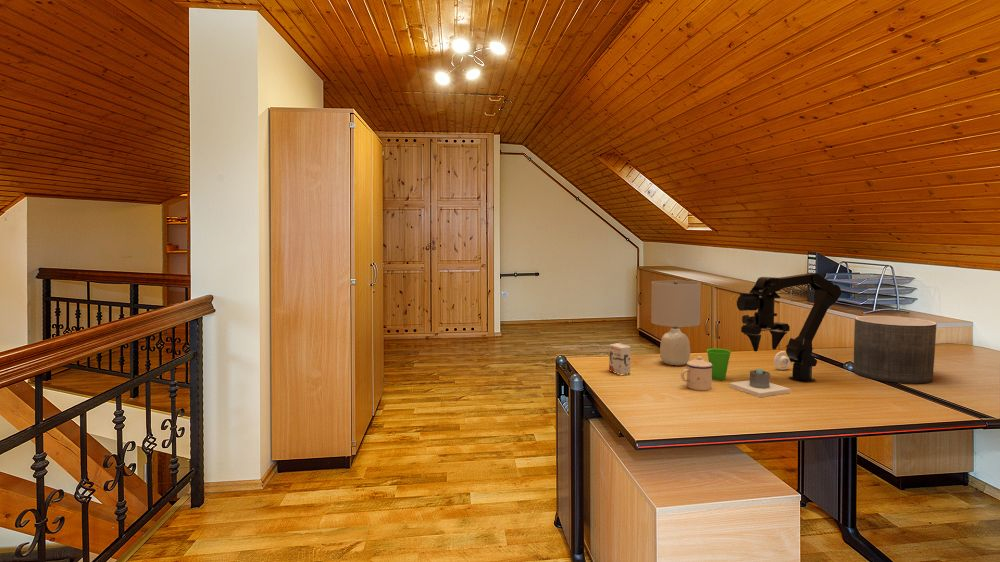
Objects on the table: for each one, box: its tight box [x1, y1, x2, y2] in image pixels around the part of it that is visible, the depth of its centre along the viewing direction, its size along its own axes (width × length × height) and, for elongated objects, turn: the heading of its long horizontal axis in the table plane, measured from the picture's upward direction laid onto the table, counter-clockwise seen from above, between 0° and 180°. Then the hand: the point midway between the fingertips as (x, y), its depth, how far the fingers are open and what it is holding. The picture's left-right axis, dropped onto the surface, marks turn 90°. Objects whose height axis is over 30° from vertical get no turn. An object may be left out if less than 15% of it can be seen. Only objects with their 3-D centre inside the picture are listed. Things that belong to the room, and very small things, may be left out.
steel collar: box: [749, 369, 771, 389], centre depth 187 cm, size 6×6×5 cm
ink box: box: [608, 342, 632, 374], centre depth 213 cm, size 9×5×12 cm, turn 25°
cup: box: [705, 348, 732, 381], centre depth 203 cm, size 9×9×11 cm
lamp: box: [650, 280, 702, 367], centre depth 226 cm, size 20×20×37 cm
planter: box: [852, 315, 937, 385], centre depth 203 cm, size 25×25×22 cm
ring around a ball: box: [773, 350, 793, 371], centre depth 215 cm, size 8×6×8 cm
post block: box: [728, 368, 791, 398], centre depth 187 cm, size 14×14×8 cm
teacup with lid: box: [680, 355, 713, 391], centre depth 191 cm, size 12×9×12 cm
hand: (764, 350), depth 197 cm, fingers open, 9 cm apart
